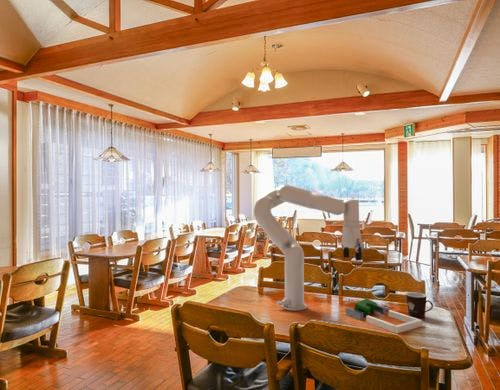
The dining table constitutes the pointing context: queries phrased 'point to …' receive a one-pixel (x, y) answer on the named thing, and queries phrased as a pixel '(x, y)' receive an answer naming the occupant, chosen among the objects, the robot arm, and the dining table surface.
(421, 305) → the coffee mug
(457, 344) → the dining table surface
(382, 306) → the vise
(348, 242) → the robot arm
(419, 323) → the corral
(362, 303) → the green lumpy block
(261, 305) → the dining table surface
